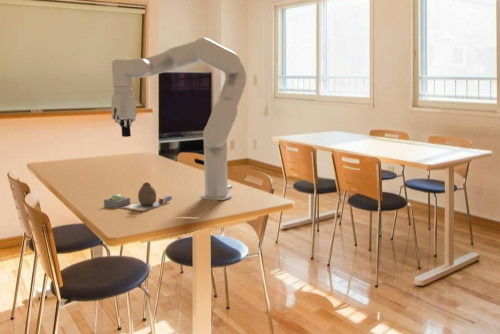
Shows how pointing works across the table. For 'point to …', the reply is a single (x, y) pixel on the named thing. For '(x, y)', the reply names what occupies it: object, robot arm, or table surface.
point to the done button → (117, 197)
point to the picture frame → (142, 207)
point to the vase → (147, 195)
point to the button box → (116, 202)
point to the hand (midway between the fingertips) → (126, 136)
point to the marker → (165, 199)
